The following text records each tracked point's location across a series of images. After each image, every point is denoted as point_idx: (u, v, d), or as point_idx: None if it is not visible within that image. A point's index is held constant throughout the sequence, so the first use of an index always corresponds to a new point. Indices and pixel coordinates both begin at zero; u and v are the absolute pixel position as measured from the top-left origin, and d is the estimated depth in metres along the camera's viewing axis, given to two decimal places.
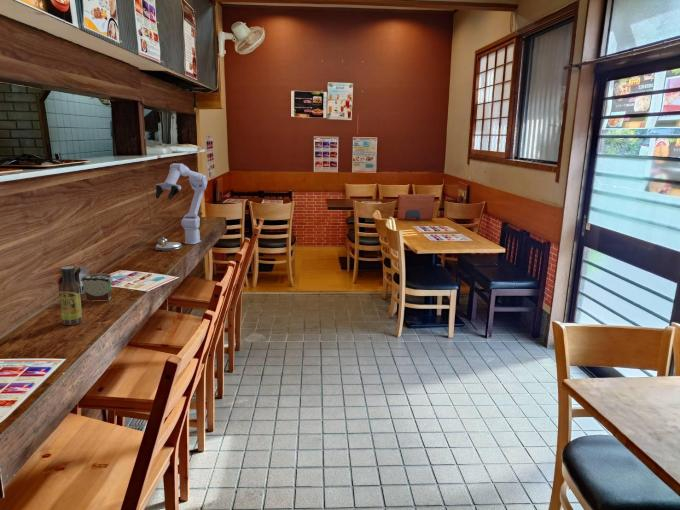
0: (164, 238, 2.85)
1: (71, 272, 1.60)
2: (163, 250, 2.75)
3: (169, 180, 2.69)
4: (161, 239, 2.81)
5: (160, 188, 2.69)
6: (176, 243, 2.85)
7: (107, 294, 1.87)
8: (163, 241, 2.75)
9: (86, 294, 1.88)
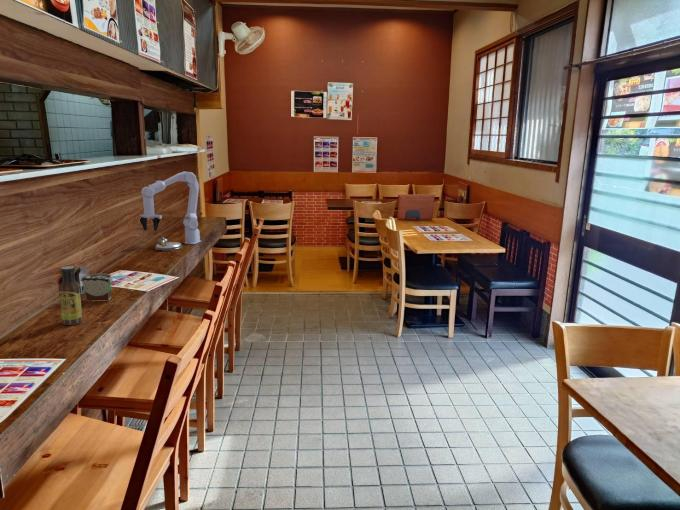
0: (164, 238, 2.85)
1: (71, 272, 1.60)
2: (163, 250, 2.75)
3: (147, 212, 2.77)
4: (161, 239, 2.81)
5: (144, 220, 2.81)
6: (176, 243, 2.85)
7: (107, 294, 1.87)
8: (163, 241, 2.75)
9: (86, 294, 1.88)
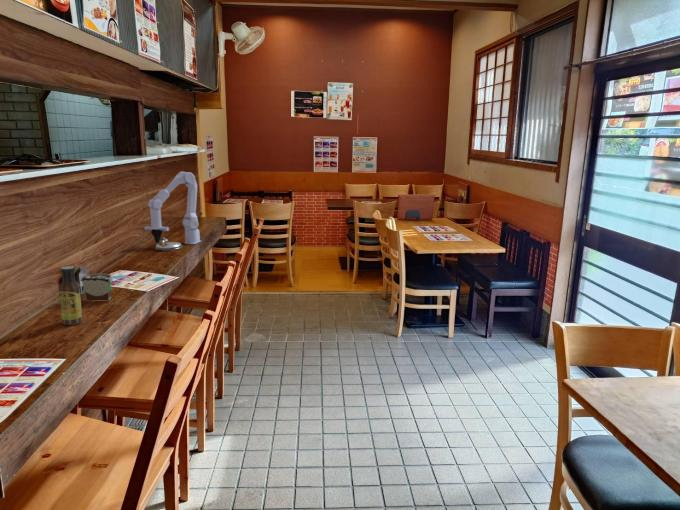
0: None
1: (71, 272, 1.60)
2: (163, 250, 2.75)
3: (155, 225, 2.78)
4: (161, 239, 2.81)
5: None
6: (176, 243, 2.85)
7: (107, 294, 1.87)
8: (163, 241, 2.75)
9: (86, 294, 1.88)
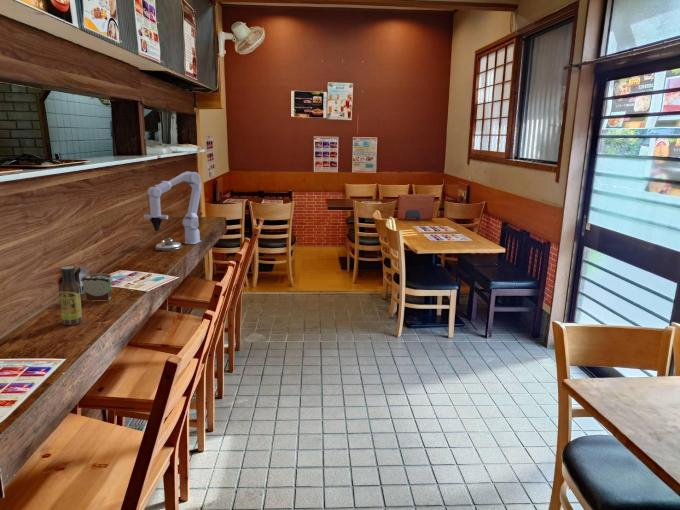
0: None
1: (71, 272, 1.60)
2: (163, 250, 2.75)
3: (154, 213, 2.76)
4: (167, 239, 2.81)
5: None
6: (176, 243, 2.85)
7: (107, 294, 1.87)
8: (163, 241, 2.75)
9: (86, 294, 1.88)
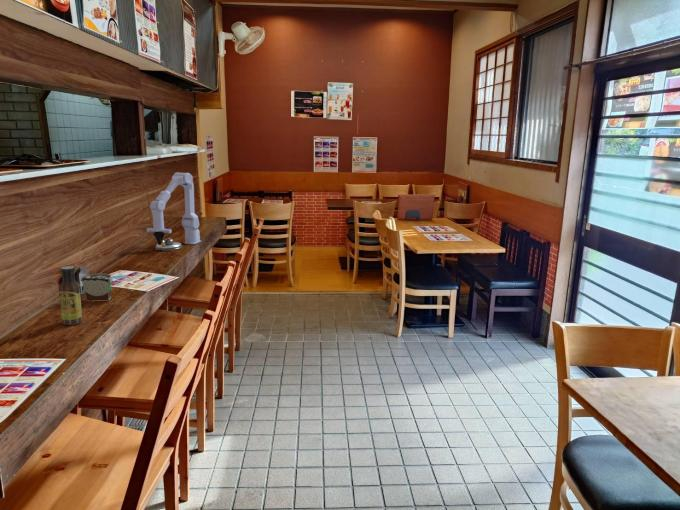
0: None
1: (71, 272, 1.60)
2: (163, 250, 2.75)
3: (157, 227, 2.72)
4: (167, 239, 2.81)
5: None
6: (176, 243, 2.85)
7: (107, 294, 1.87)
8: (163, 241, 2.75)
9: (86, 294, 1.88)
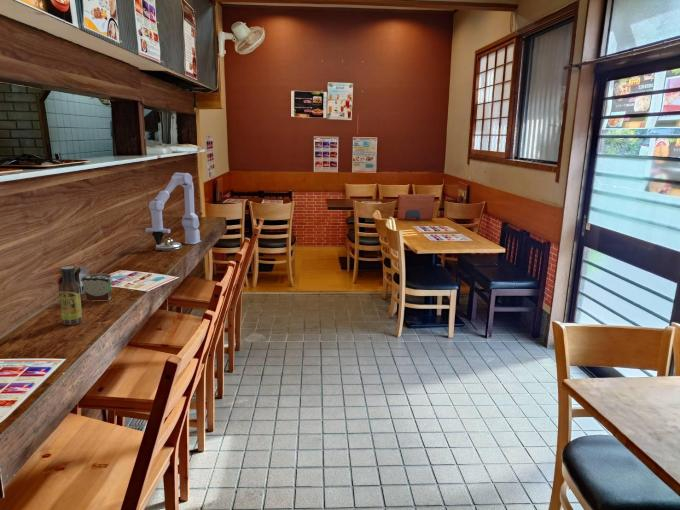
0: None
1: (71, 272, 1.60)
2: (163, 250, 2.75)
3: (156, 227, 2.72)
4: (167, 239, 2.81)
5: None
6: (174, 243, 2.87)
7: (107, 294, 1.87)
8: None
9: (86, 294, 1.88)
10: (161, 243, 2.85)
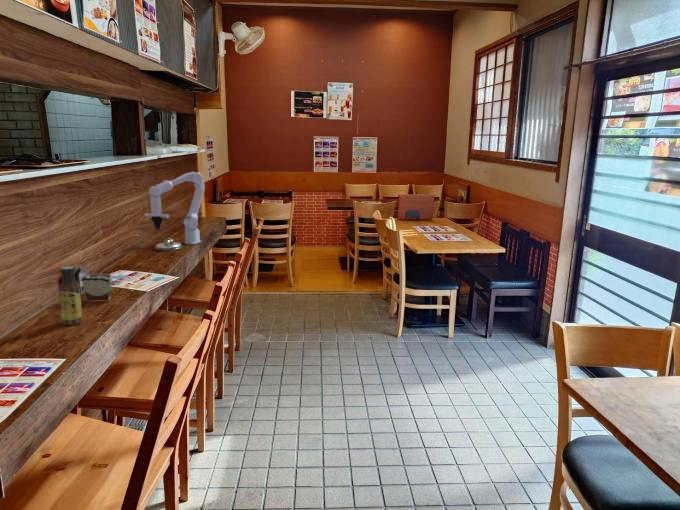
0: None
1: (71, 272, 1.60)
2: (163, 250, 2.75)
3: (155, 212, 2.81)
4: (167, 239, 2.81)
5: None
6: (174, 243, 2.87)
7: (107, 294, 1.87)
8: None
9: (86, 294, 1.88)
10: (161, 243, 2.85)
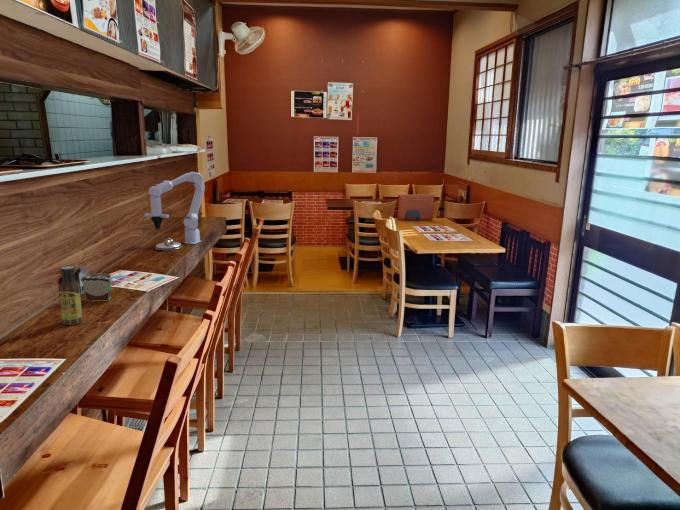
0: None
1: (71, 272, 1.60)
2: (163, 250, 2.75)
3: (155, 212, 2.81)
4: (167, 239, 2.81)
5: None
6: (174, 243, 2.87)
7: (107, 294, 1.87)
8: None
9: (86, 294, 1.88)
10: (161, 243, 2.85)
